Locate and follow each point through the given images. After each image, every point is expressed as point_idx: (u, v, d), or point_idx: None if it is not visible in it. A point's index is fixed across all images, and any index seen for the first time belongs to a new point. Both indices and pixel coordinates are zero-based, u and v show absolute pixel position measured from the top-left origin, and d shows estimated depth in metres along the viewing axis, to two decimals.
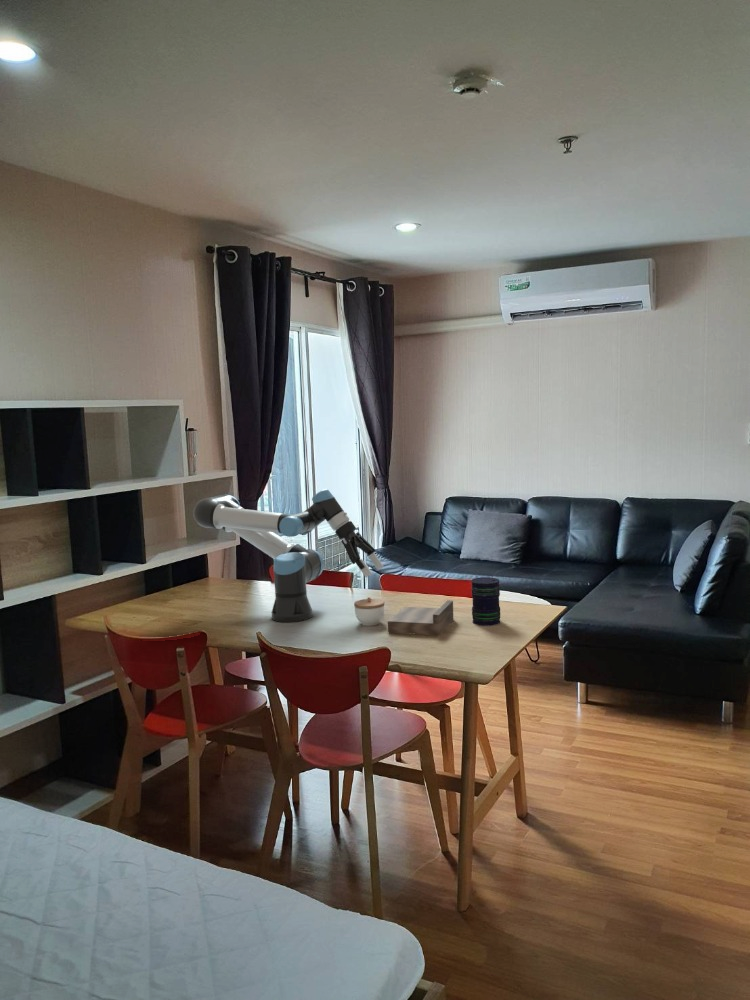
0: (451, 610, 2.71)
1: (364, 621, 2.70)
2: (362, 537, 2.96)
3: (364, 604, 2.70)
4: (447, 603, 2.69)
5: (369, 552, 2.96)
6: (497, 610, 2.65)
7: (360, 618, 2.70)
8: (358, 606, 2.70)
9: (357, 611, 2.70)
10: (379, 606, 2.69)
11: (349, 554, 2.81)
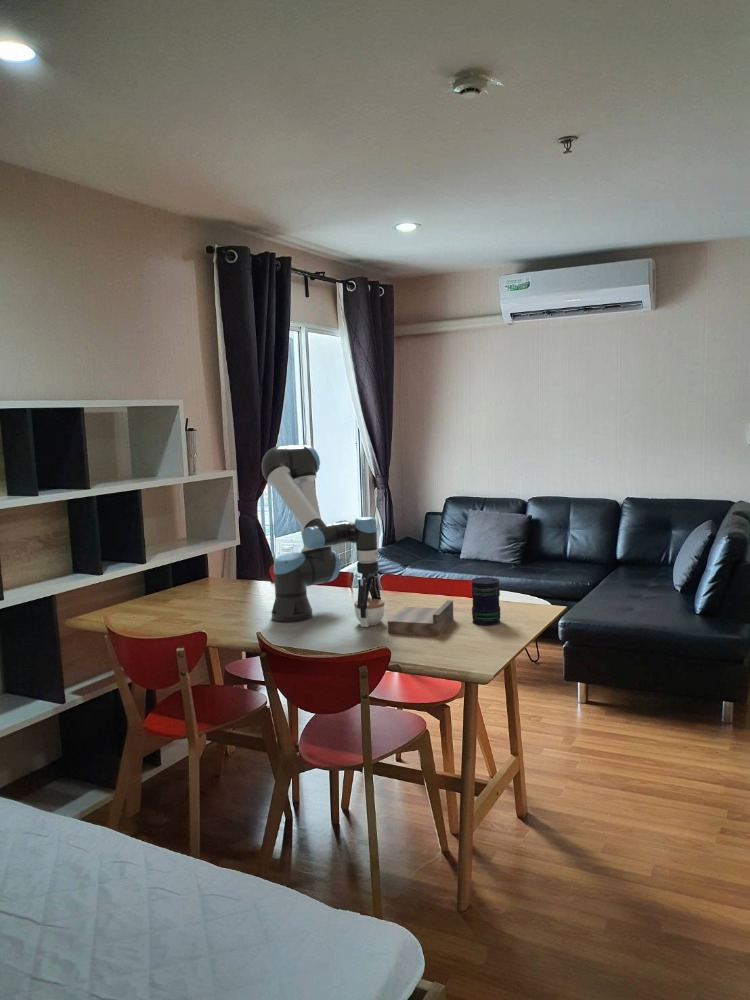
0: (451, 610, 2.71)
1: None
2: (377, 579, 2.78)
3: None
4: (447, 603, 2.69)
5: (374, 597, 2.79)
6: (497, 610, 2.65)
7: None
8: None
9: (357, 611, 2.70)
10: (379, 606, 2.69)
11: (359, 599, 2.65)
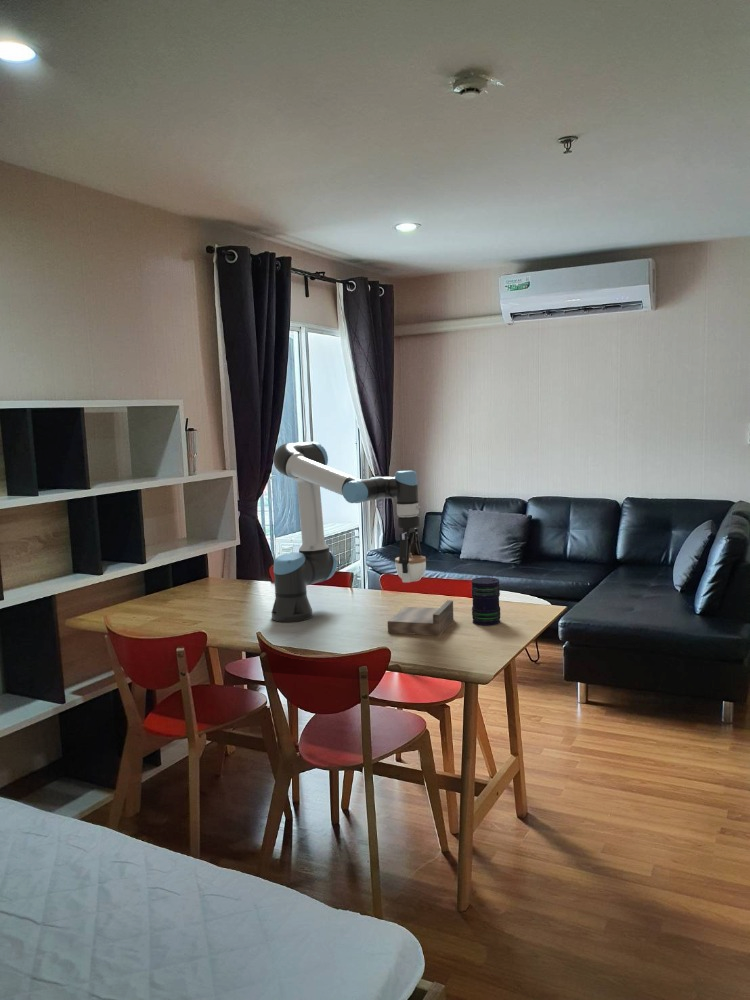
0: (451, 610, 2.71)
1: None
2: None
3: None
4: (447, 603, 2.69)
5: (414, 554, 2.72)
6: (497, 610, 2.65)
7: (401, 573, 2.63)
8: None
9: (398, 567, 2.63)
10: (421, 561, 2.62)
11: (401, 553, 2.58)
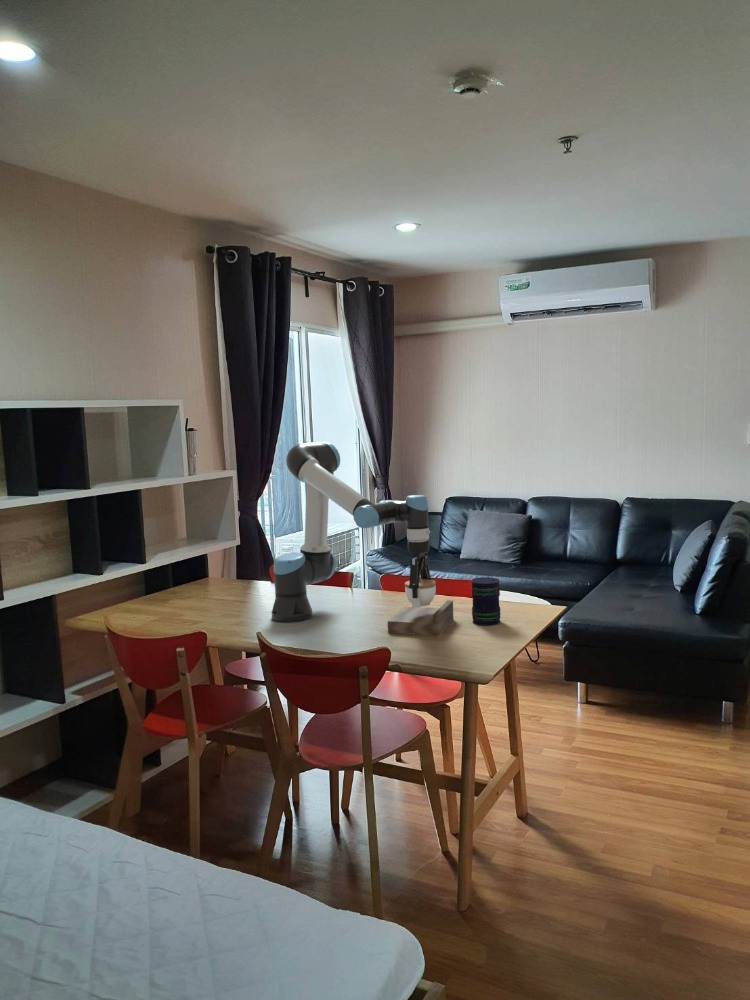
0: (451, 610, 2.71)
1: None
2: (427, 559, 2.71)
3: None
4: (447, 603, 2.69)
5: (424, 578, 2.72)
6: (497, 610, 2.65)
7: (411, 598, 2.63)
8: None
9: (408, 591, 2.63)
10: (431, 586, 2.62)
11: (411, 578, 2.58)
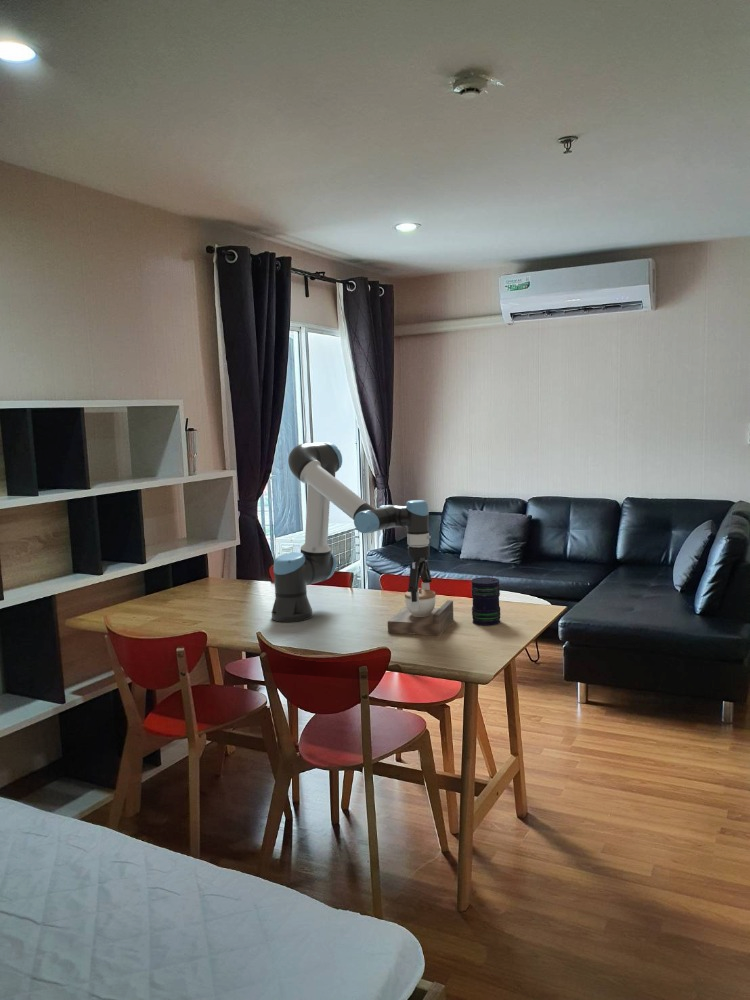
0: (451, 610, 2.71)
1: (415, 612, 2.63)
2: (427, 563, 2.71)
3: None
4: (447, 603, 2.69)
5: (425, 580, 2.73)
6: (497, 610, 2.65)
7: None
8: (409, 597, 2.63)
9: (408, 602, 2.64)
10: (431, 597, 2.63)
11: (410, 582, 2.58)
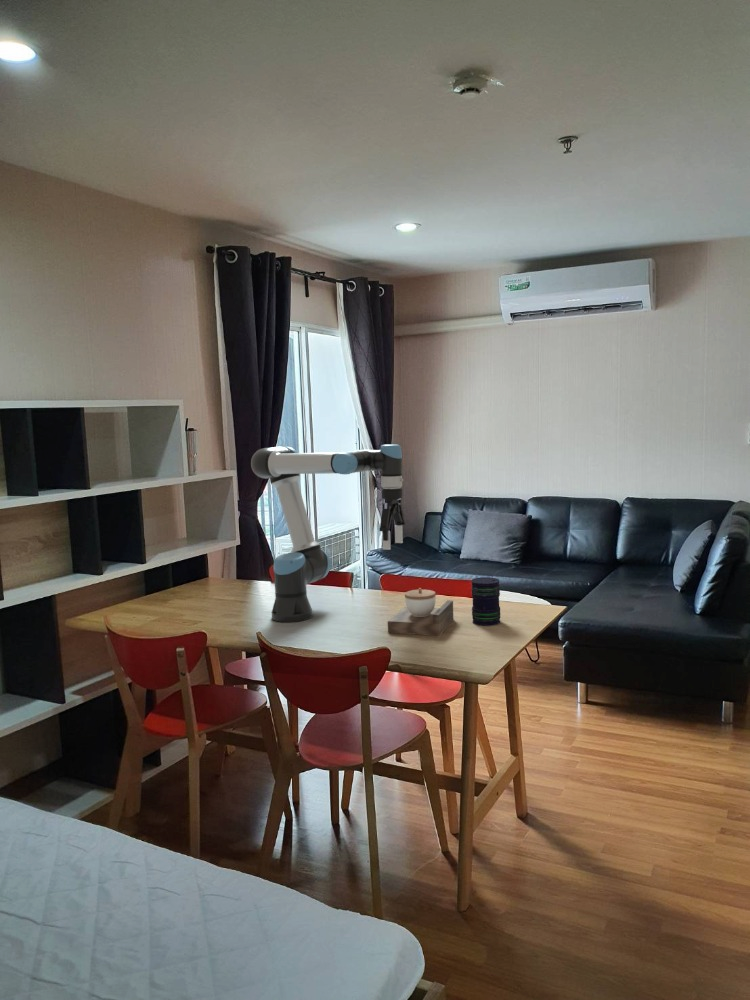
0: (451, 610, 2.71)
1: (415, 612, 2.63)
2: (401, 506, 2.83)
3: (415, 595, 2.63)
4: (447, 603, 2.69)
5: (398, 522, 2.84)
6: (497, 610, 2.65)
7: (411, 609, 2.63)
8: (409, 597, 2.63)
9: (408, 602, 2.64)
10: (431, 597, 2.63)
11: (382, 521, 2.69)
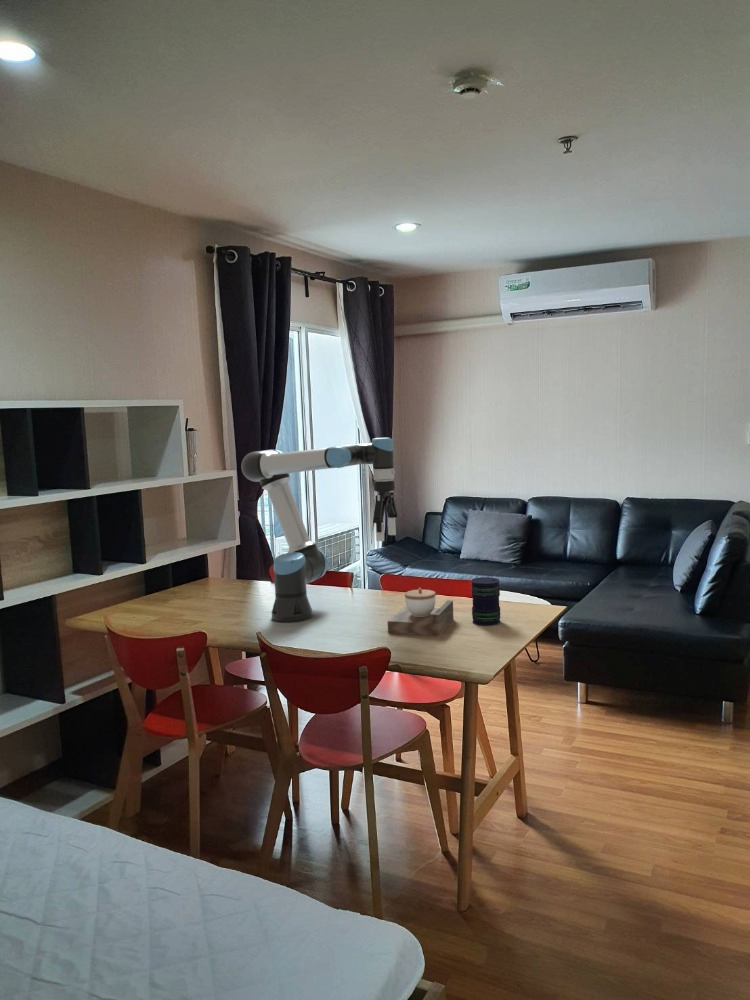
0: (451, 610, 2.71)
1: (415, 612, 2.63)
2: (393, 498, 2.87)
3: (415, 595, 2.63)
4: (447, 603, 2.69)
5: (391, 515, 2.88)
6: (497, 610, 2.65)
7: (411, 609, 2.63)
8: (409, 597, 2.63)
9: (408, 602, 2.64)
10: (431, 597, 2.63)
11: (375, 513, 2.73)
